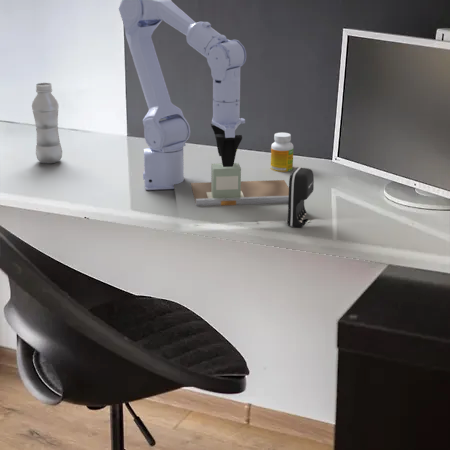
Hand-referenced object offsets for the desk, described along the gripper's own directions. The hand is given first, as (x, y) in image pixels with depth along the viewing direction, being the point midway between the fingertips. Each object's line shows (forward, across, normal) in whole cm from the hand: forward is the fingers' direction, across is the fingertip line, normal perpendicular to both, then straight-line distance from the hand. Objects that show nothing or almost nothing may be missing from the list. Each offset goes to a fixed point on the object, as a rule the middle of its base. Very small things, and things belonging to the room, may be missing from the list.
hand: (225, 160), depth 180 cm
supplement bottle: (+10, +19, -16) cm, 27 cm away
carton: (+8, 0, 0) cm, 8 cm away
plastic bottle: (+10, +33, +41) cm, 53 cm away
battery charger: (+10, -14, -14) cm, 22 cm away
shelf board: (+9, +3, -4) cm, 11 cm away
